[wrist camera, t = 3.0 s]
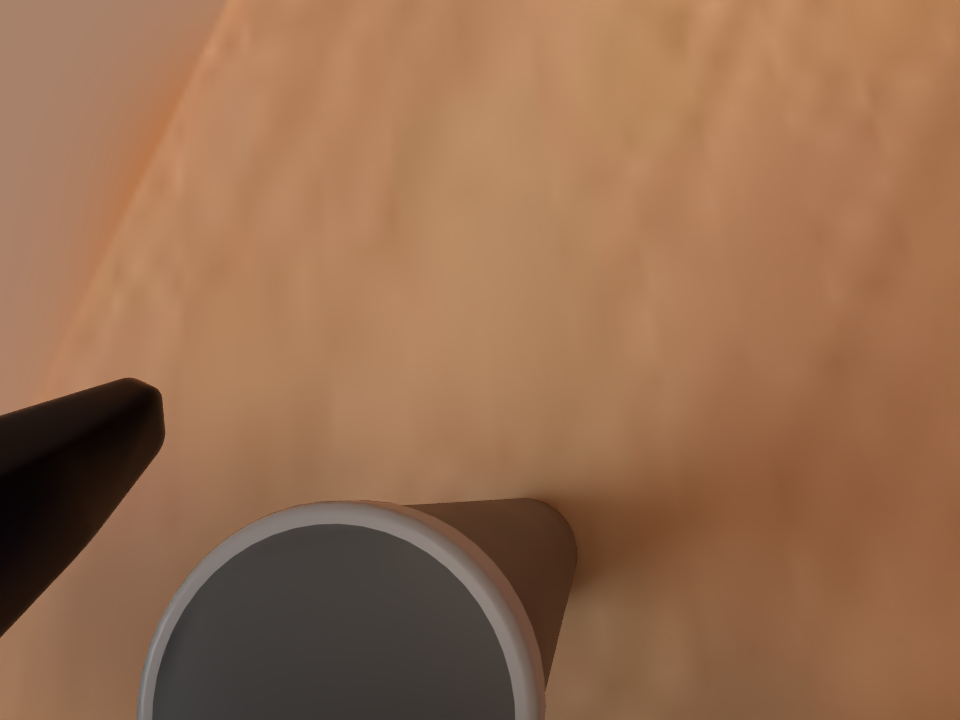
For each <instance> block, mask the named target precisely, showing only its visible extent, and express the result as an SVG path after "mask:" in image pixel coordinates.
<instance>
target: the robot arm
mask: <svg viewBox="0 0 960 720" xmlns="http://www.w3.org/2000/svg"><path fill="white" fill-rule="evenodd" d="M164 438H165V425H164V414H163V403H162V396H161V393H160V392H159V390H158V389H157V388H155V387H153V386H151V385H149V384H147V383H144V382H142V381H140V380H138V379H135V378H123V379H119V380H116V381H113V382H109V383H106V384H103V385H100V386H96V387H93V388H90V389H86V390H83V391H80V392H76V393H73V394H70V395H67V396H63V397H60V398H57V399H53V400H50V401H47V402H43V403H40V404H37V405H34V406H30V407H27V408H24V409H20V410H17V411H14V412H11V413H8V414H4V415H1V416H0V638H1V636H2V635H3V634H4V633H5V632H6V631H7V630H8V629H9V628H10V627H11V626H12V625H13V624H14V623H15V622H16V621H17V619H18V618H19V617H20V616H21V615H22V614H23V613H24V612H25V611H26V610H27V609H28V608H29V607H30V606H31V605H32V604H33V603H34V601H35V600H36V599H37V598H38V597H39V596H40V595H41V594H42V593H43V592H44V591H45V590H46V589H47V588H48V587H49V586H50V584H51V583H52V582H53V581H54V580H55V579H56V578H57V577H58V576H59V575H60V574H61V573H62V572H63V571H64V570H65V569H66V568H67V566H68V565H69V564H70V563H71V562H72V561H73V560H74V559H75V558H76V557H77V556H78V555H79V553H80V552H81V551H82V550H83V549H84V548H85V547H86V546H87V544H88V543H89V542H90V541H91V539H92V538H93V537H94V536H95V535H96V533H97V532H98V531H99V530H100V528H101V527H102V526H103V524H104V523H105V522H106V520H107V519H108V518H109V516H110V515H111V514H112V513H113V511H114V510H115V509H116V507H117V506H118V505H119V503H120V502H121V501H122V499H123V498H124V497H125V496H126V494H127V493H128V492H129V490H130V489H131V488H132V486H133V485H134V484H135V482H136V481H137V480H138V479H139V477H140V476H141V475H142V473H143V472H144V471H145V469H146V468H147V467H148V465H149V464H150V463H151V462H152V460H153V459H154V458H155V456H156V455H157V454H158V452H159V451H160V449H161V447H162V445H163V442H164Z"/></svg>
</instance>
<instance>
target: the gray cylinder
mask: <svg viewBox="0 0 960 720" xmlns="http://www.w3.org/2000/svg"><path fill="white" fill-rule="evenodd" d="M576 560H577V547H576V542H575V538H574V535H573V532H572V530H571V528H570V526H569V525H568V523H567V521H566V520H565V519H564V518H563V516H562V515H561V514H560V513H559V512H557V511H556V510H555V509H554V508H552V507H551V506H549V505H547V504H545V503H543V502H540V501H537V500H533V499H525V498H522V499H503V500H487V501H470V502H453V503H437V504H420V505H403V506H401V505H397V504H393V503H388V502H378V501H369V500H360V501H326V502H315V503H309V504H304V505H298V506H293V507H290V508H287V509H284V510H281V511H278V512H274V513H271V514H269V515H267V516H265V517H263V518H261V519H258V520H256V521H254V522H252V523H250V524H248V525H246V526H245V527H243V528H242V529H240V530H239V531H237V532H235V533H234V534H232V535H231V536H229V537H228V538H226V539H225V540H224V541H223V542H222V543H220V544H219V545H218V546H217V547H216V548H214V549H213V550H212V551H211V552H210V553H208V554H207V555H206V556H205V557H204V559H203V560H202V561H201V562H200V563H199V564H198V565H197V566H196V567H195V568H194V569H193V570H192V571H191V573H190V574H189V575H188V576H187V578H186V579H185V581H184V582H183V583H182V585H181V586H180V587H179V589H178V590H177V592H176V593H175V594H174V596H173V598H172V600H171V602H170V603H169V605H168V607H167V609H166V611H165V612H164V614H163V616H162V618H161V620H160V621H159V624H158V626H157V629H156V631H155V634H154V636H153V639H152V641H151V643H150V646H149V649H148V653H147V657H146V660H145V664H144V667H143V671H142V676H141V683H140V689H139V695H138V707H137V720H544V719H545V707H546V704H545V690H546V686H547V682H548V678H549V674H550V670H551V666H552V662H553V657H554V653H555V649H556V645H557V641H558V637H559V633H560V628H561V624H562V620H563V616H564V612H565V608H566V604H567V600H568V595H569V591H570V587H571V583H572V579H573V575H574V571H575V566H576Z"/></svg>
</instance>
